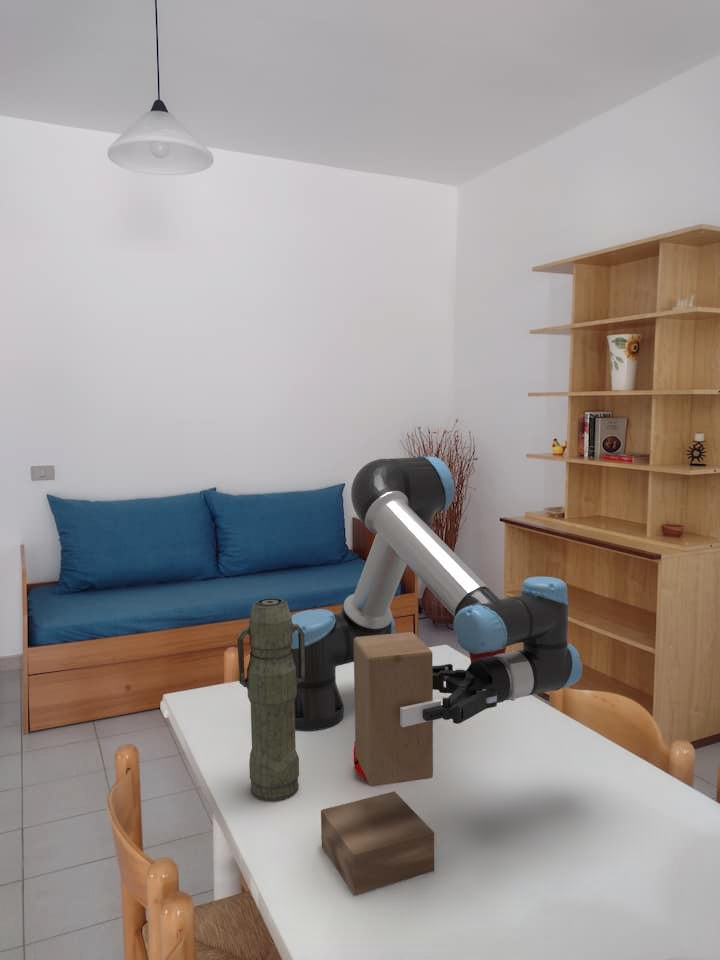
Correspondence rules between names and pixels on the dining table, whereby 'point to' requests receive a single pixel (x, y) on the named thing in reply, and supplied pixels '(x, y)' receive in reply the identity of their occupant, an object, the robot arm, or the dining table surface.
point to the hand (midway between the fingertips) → (382, 702)
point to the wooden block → (392, 707)
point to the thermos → (272, 698)
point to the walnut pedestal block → (377, 842)
